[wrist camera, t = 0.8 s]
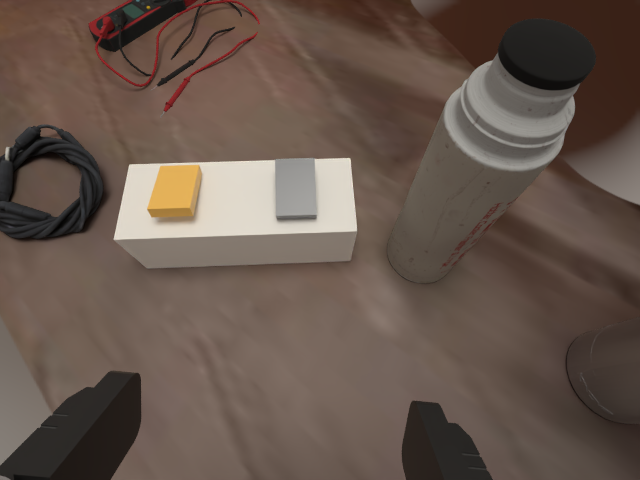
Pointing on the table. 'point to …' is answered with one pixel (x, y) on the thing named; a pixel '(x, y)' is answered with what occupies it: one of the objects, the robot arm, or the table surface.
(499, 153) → the thermos bottle
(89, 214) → the cable
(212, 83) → the table surface
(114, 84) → the table surface
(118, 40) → the digital clamp meter
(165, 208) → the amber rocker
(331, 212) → the switch box
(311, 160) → the flat grey slab box
